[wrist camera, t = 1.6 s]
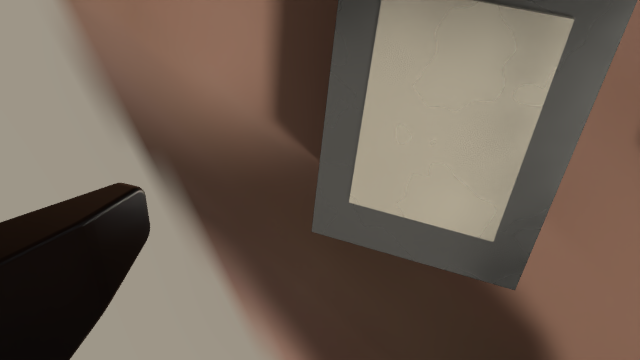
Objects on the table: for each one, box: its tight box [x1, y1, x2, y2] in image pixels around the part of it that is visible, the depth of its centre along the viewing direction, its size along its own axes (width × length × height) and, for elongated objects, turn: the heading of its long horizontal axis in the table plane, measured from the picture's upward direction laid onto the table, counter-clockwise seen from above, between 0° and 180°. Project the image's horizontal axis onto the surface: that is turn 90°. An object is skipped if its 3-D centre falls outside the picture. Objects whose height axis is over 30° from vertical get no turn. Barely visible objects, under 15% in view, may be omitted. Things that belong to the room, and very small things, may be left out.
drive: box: [312, 0, 637, 290], centre depth 14 cm, size 10×6×4 cm, turn 174°
